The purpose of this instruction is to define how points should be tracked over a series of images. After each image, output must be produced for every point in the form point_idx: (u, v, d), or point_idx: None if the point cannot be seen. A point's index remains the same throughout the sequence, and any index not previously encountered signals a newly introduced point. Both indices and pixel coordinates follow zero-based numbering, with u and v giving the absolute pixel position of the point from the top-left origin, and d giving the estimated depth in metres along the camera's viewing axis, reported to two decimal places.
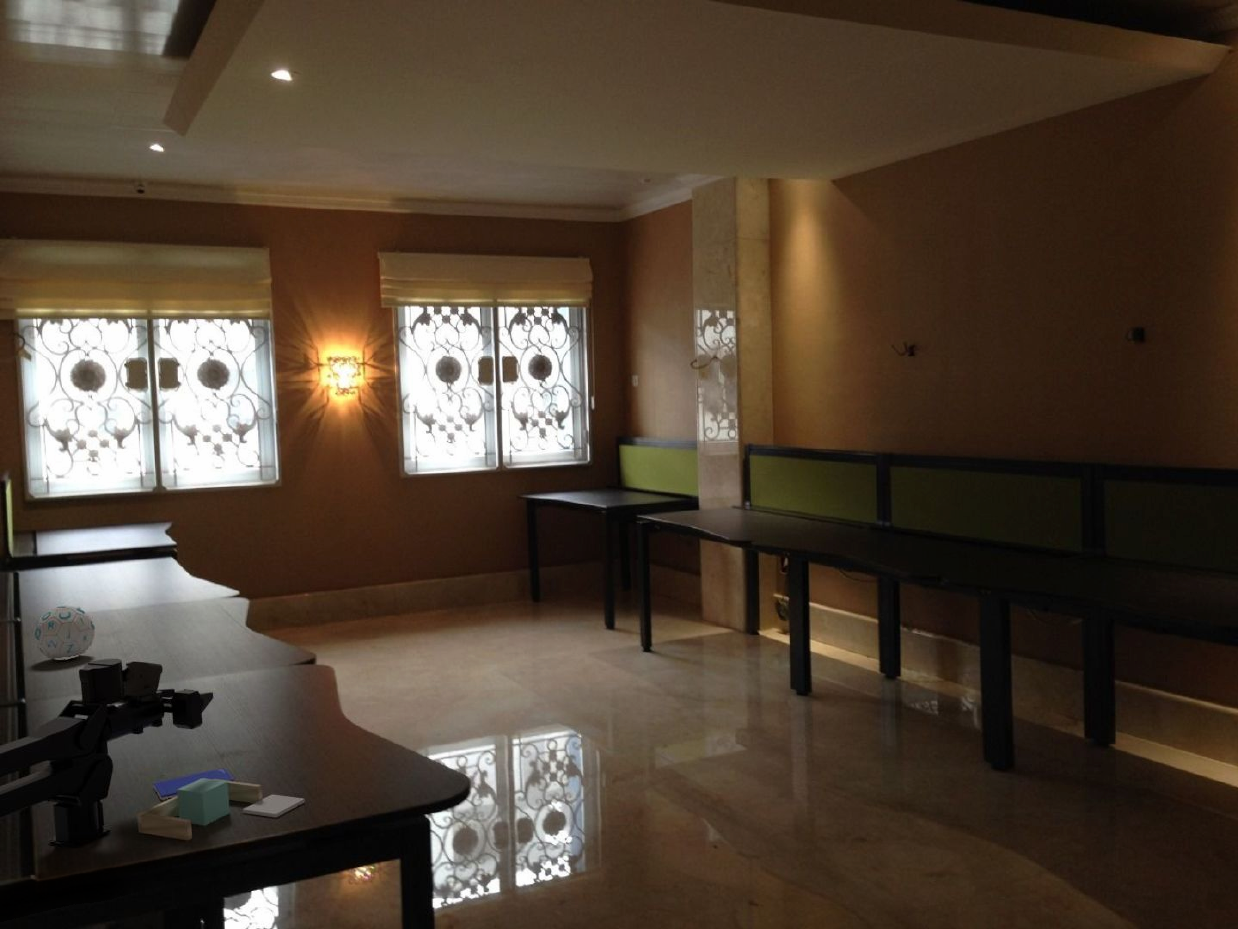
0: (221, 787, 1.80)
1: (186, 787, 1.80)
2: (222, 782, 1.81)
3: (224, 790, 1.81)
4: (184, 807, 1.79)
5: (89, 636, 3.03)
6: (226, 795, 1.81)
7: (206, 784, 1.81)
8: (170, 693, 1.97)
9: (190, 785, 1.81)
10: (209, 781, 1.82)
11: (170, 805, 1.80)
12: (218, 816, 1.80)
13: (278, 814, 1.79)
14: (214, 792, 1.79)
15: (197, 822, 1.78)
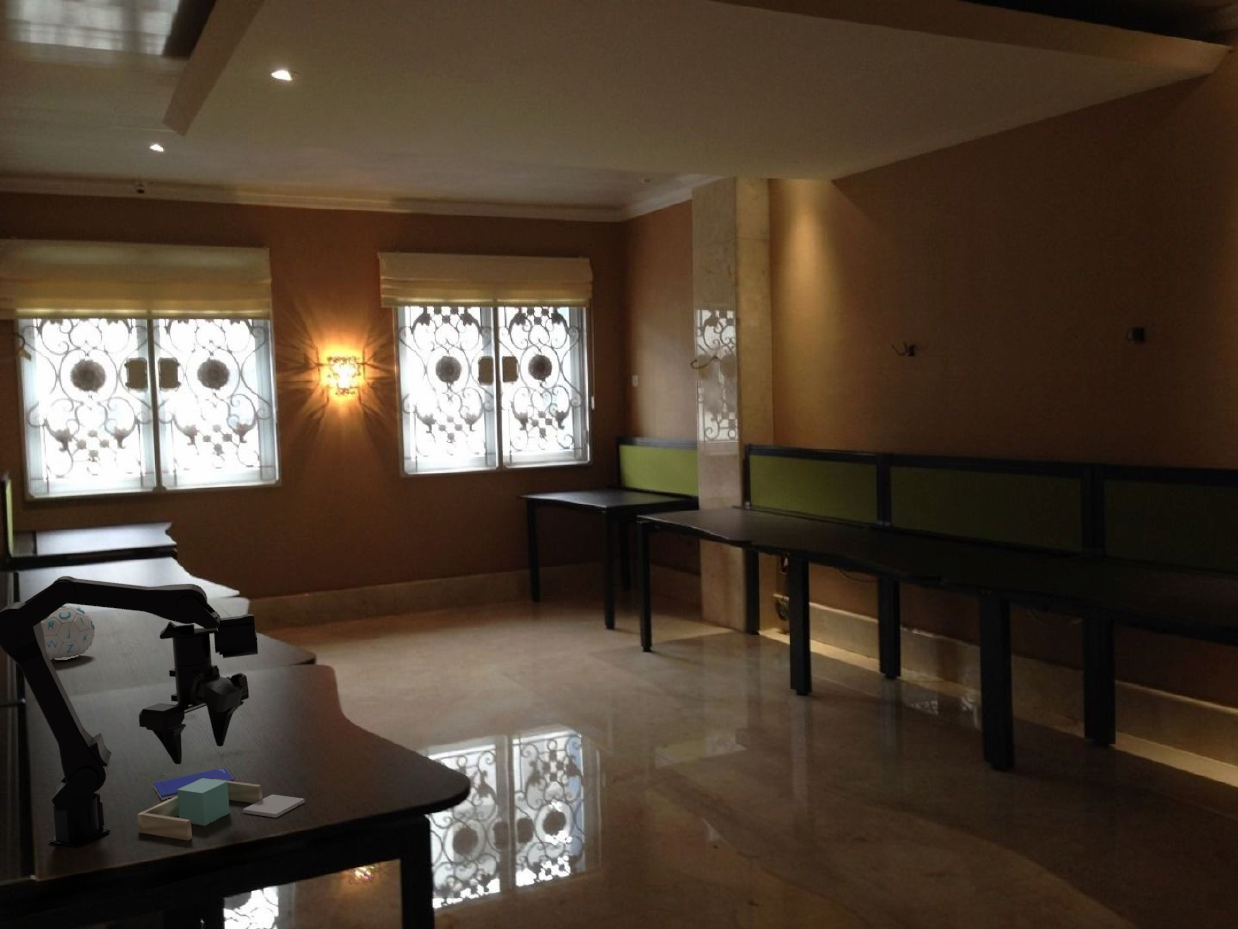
0: (220, 787, 1.80)
1: (186, 787, 1.80)
2: (222, 782, 1.81)
3: (224, 790, 1.81)
4: (184, 807, 1.79)
5: (89, 636, 3.03)
6: (226, 795, 1.81)
7: (206, 784, 1.81)
8: (218, 740, 1.84)
9: (190, 785, 1.81)
10: (209, 781, 1.82)
11: (170, 805, 1.80)
12: (218, 816, 1.80)
13: (278, 814, 1.79)
14: (214, 791, 1.79)
15: (197, 822, 1.78)
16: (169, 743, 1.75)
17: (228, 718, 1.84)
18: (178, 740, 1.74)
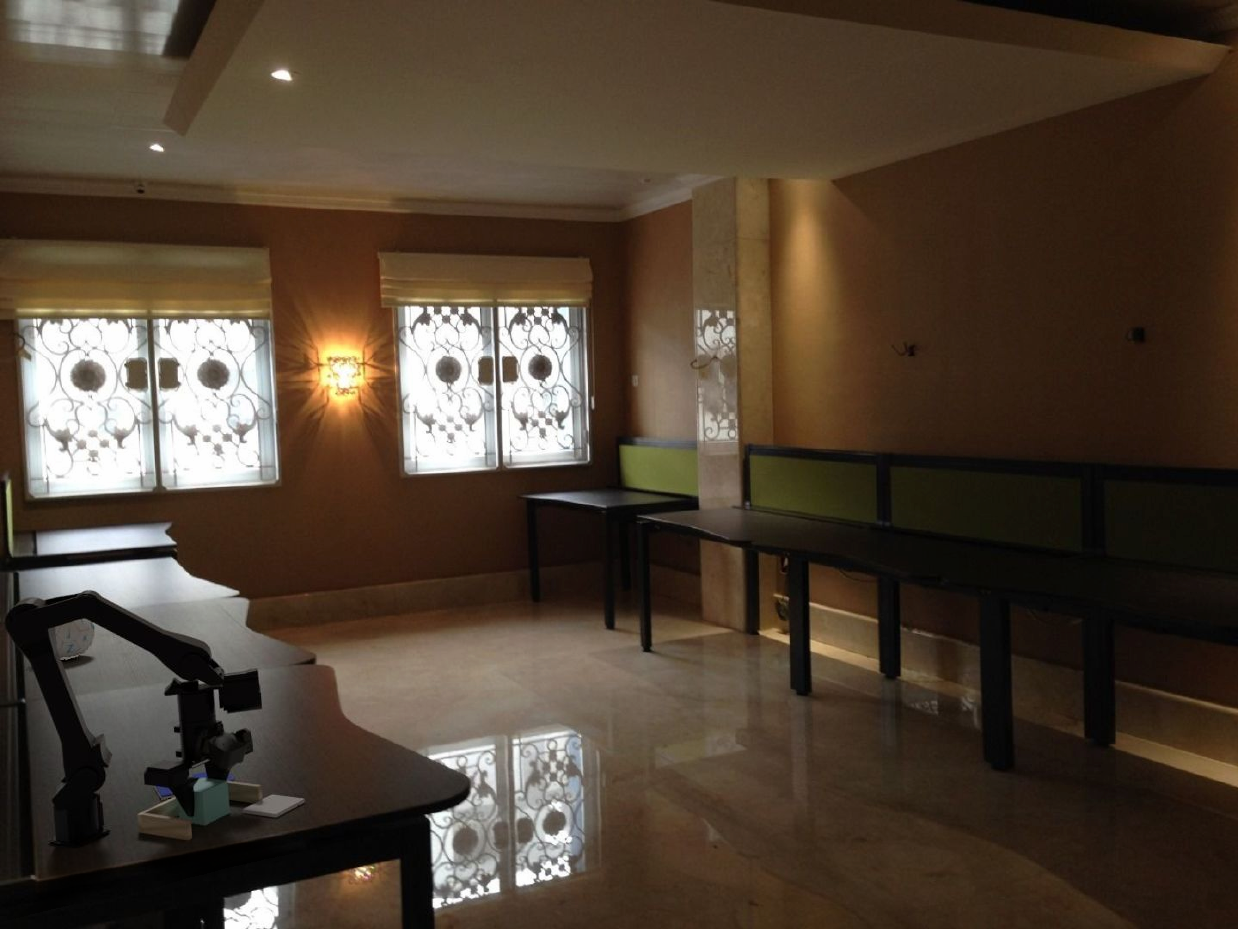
0: (220, 787, 1.80)
1: None
2: (222, 781, 1.81)
3: (224, 789, 1.81)
4: None
5: (89, 636, 3.03)
6: (226, 794, 1.81)
7: (206, 784, 1.81)
8: None
9: None
10: (209, 780, 1.82)
11: (170, 805, 1.80)
12: (218, 815, 1.80)
13: (278, 814, 1.79)
14: (214, 791, 1.79)
15: (197, 821, 1.78)
16: (182, 796, 1.77)
17: (225, 775, 1.83)
18: (191, 793, 1.76)
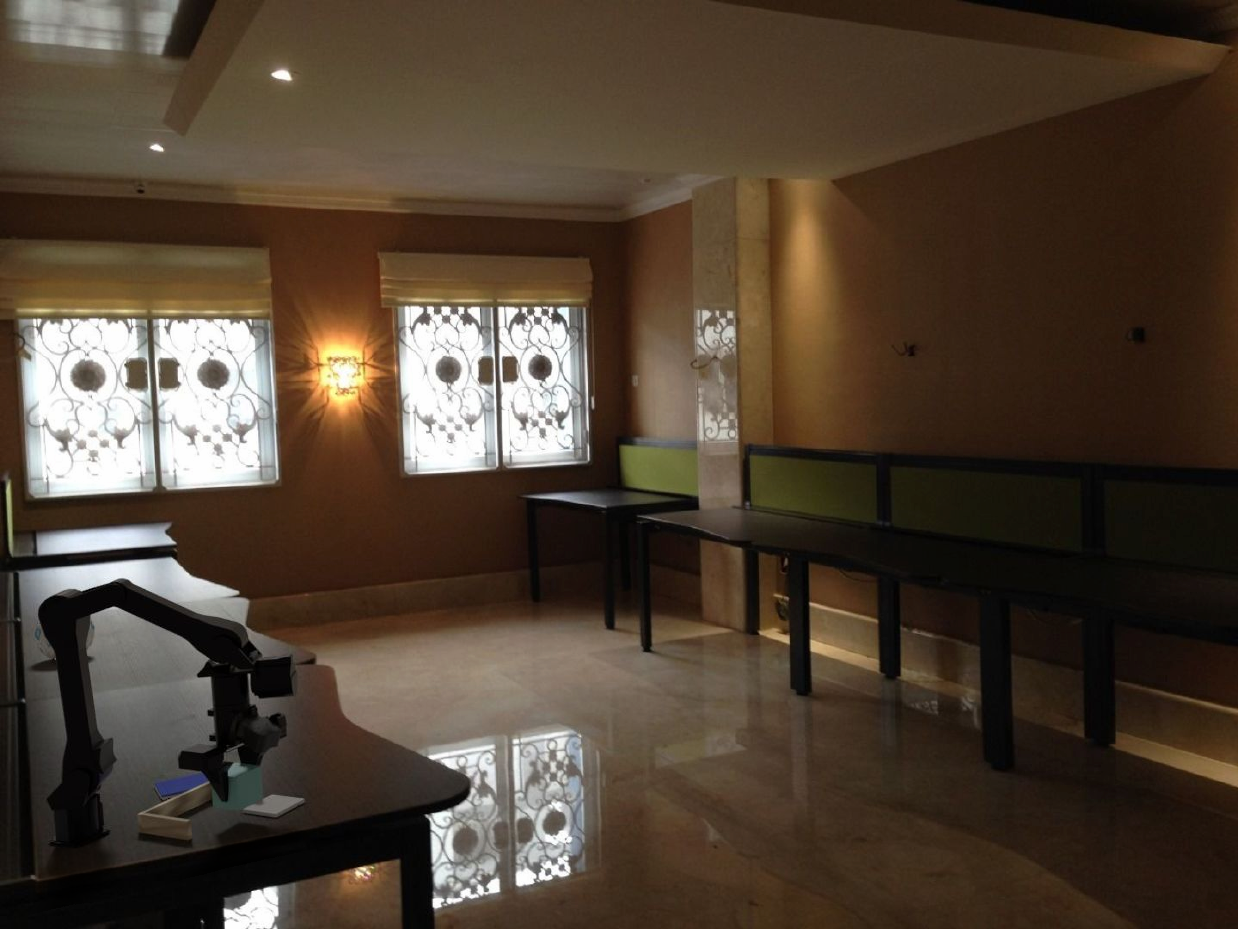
0: (255, 772, 1.77)
1: None
2: (256, 766, 1.78)
3: (258, 774, 1.78)
4: None
5: (89, 636, 3.03)
6: (260, 780, 1.78)
7: (239, 769, 1.77)
8: None
9: None
10: (243, 765, 1.79)
11: (170, 805, 1.80)
12: (252, 801, 1.76)
13: (278, 814, 1.79)
14: (248, 776, 1.76)
15: (231, 807, 1.74)
16: (216, 781, 1.73)
17: (259, 760, 1.80)
18: (225, 778, 1.73)
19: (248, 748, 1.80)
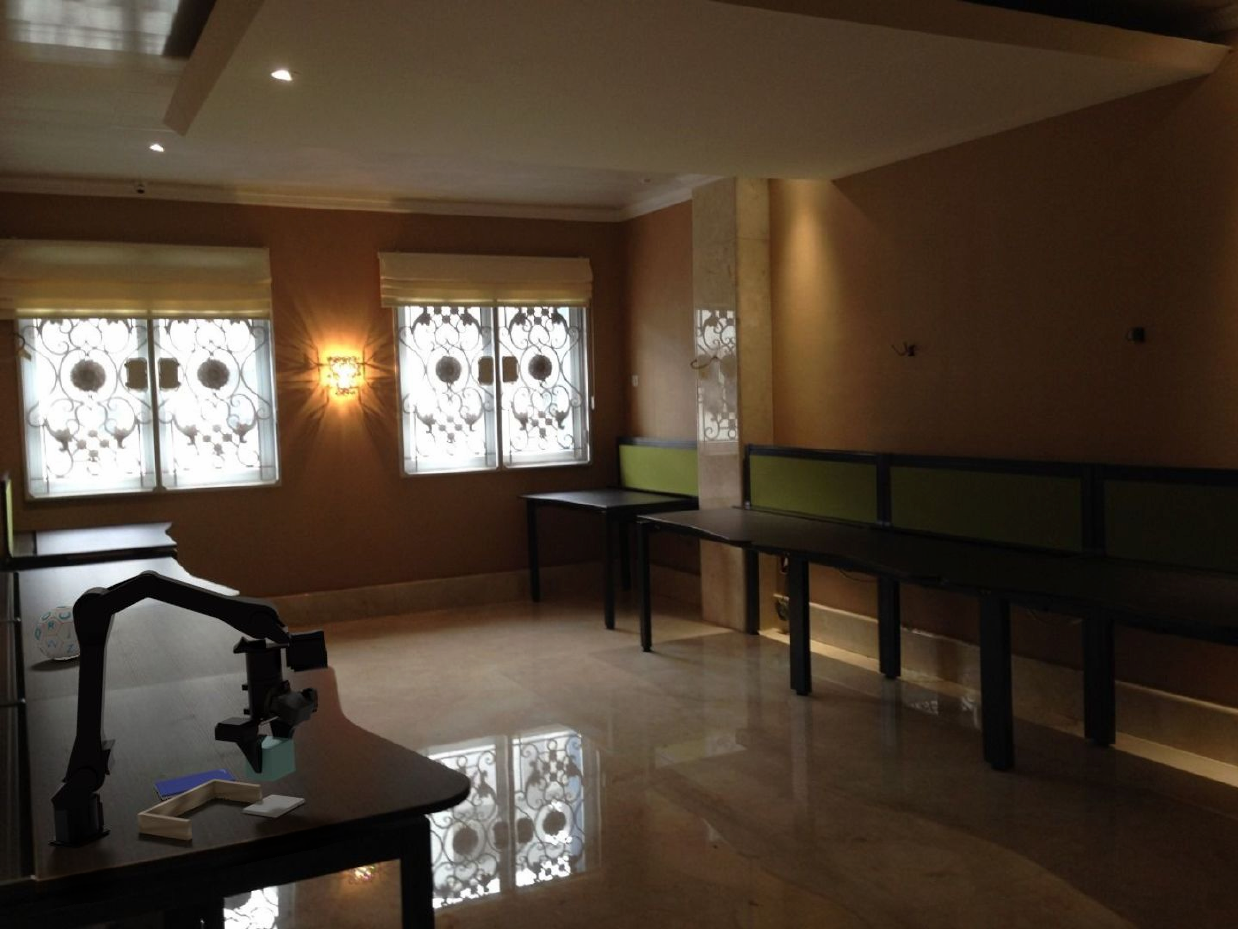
0: (287, 744, 1.83)
1: None
2: (288, 739, 1.84)
3: (290, 747, 1.83)
4: None
5: None
6: (292, 752, 1.84)
7: (273, 741, 1.83)
8: None
9: None
10: (275, 738, 1.85)
11: (170, 805, 1.80)
12: (285, 772, 1.82)
13: (278, 814, 1.79)
14: (281, 748, 1.82)
15: (265, 778, 1.80)
16: (250, 753, 1.79)
17: (291, 734, 1.86)
18: (259, 750, 1.79)
19: (280, 722, 1.86)
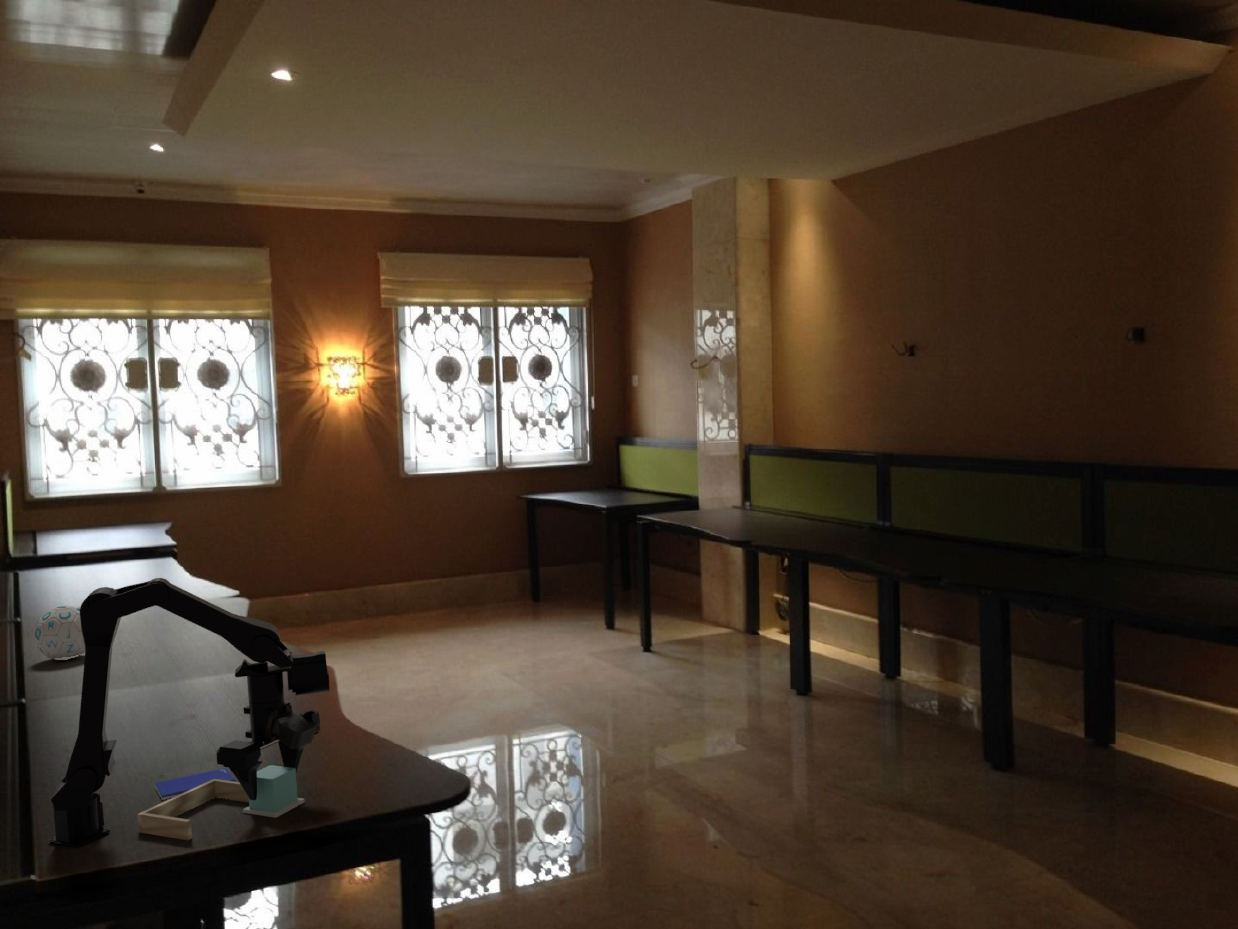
0: (289, 774, 1.83)
1: None
2: (290, 769, 1.84)
3: (292, 777, 1.84)
4: None
5: None
6: (294, 782, 1.84)
7: (275, 771, 1.83)
8: None
9: (259, 772, 1.83)
10: (277, 768, 1.85)
11: (170, 805, 1.80)
12: (287, 802, 1.82)
13: (278, 814, 1.79)
14: (283, 778, 1.82)
15: (267, 808, 1.80)
16: (245, 780, 1.78)
17: (299, 753, 1.87)
18: (254, 776, 1.78)
19: None
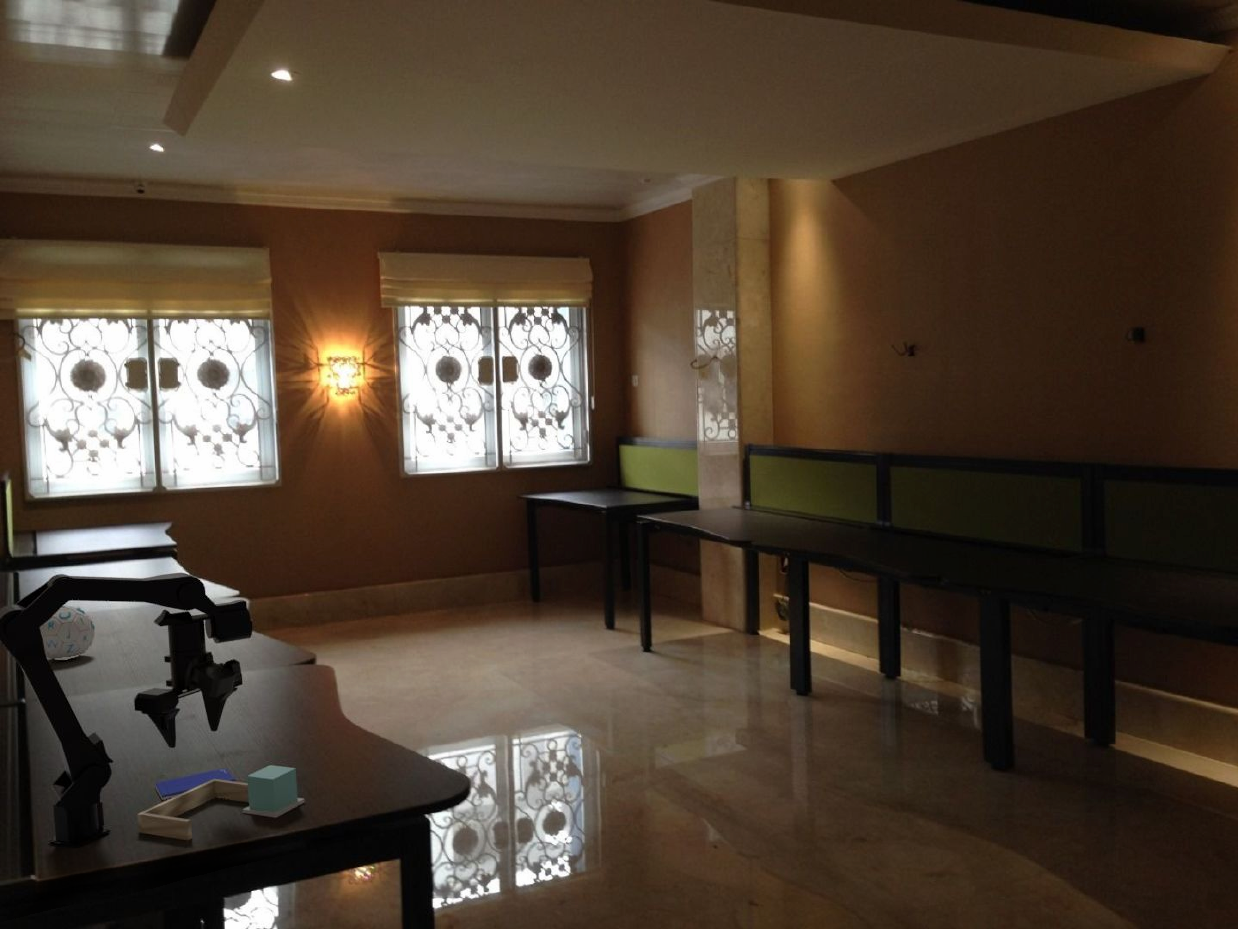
0: (289, 774, 1.83)
1: (255, 774, 1.82)
2: (290, 769, 1.84)
3: (292, 777, 1.84)
4: (254, 793, 1.81)
5: (89, 636, 3.03)
6: (294, 782, 1.84)
7: (275, 771, 1.83)
8: (212, 725, 1.88)
9: (259, 772, 1.83)
10: (277, 768, 1.85)
11: (170, 805, 1.80)
12: (287, 802, 1.82)
13: (278, 814, 1.79)
14: (283, 778, 1.82)
15: (267, 808, 1.80)
16: (163, 727, 1.79)
17: (222, 704, 1.88)
18: (172, 724, 1.79)
19: None
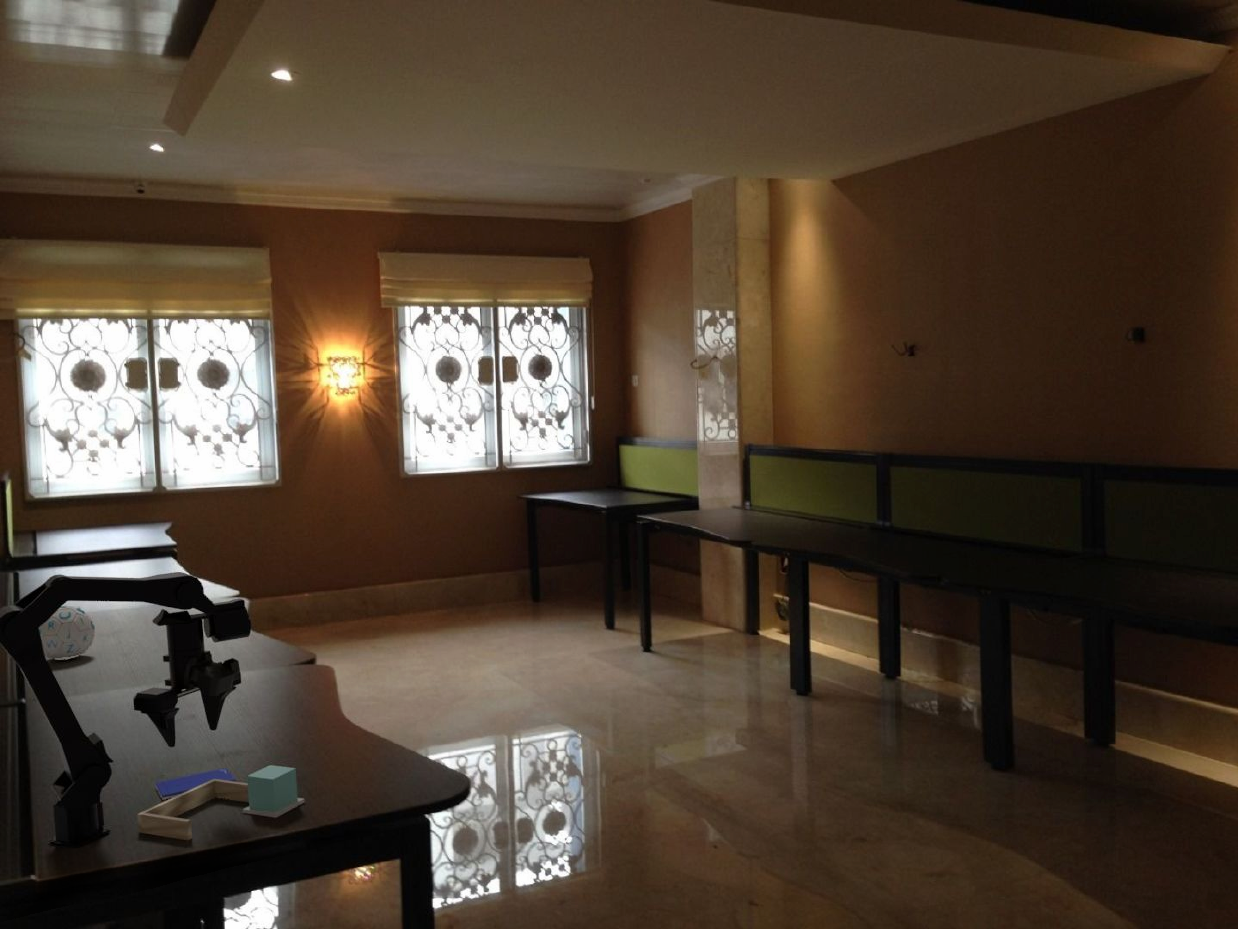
0: (289, 774, 1.83)
1: (255, 774, 1.82)
2: (290, 769, 1.84)
3: (292, 777, 1.84)
4: (254, 793, 1.81)
5: (89, 636, 3.03)
6: (294, 782, 1.84)
7: (275, 771, 1.83)
8: (211, 724, 1.88)
9: (259, 772, 1.83)
10: (277, 768, 1.85)
11: (170, 805, 1.80)
12: (287, 802, 1.82)
13: (278, 814, 1.79)
14: (283, 778, 1.82)
15: (267, 808, 1.80)
16: (163, 726, 1.79)
17: (221, 703, 1.89)
18: (171, 723, 1.79)
19: None
